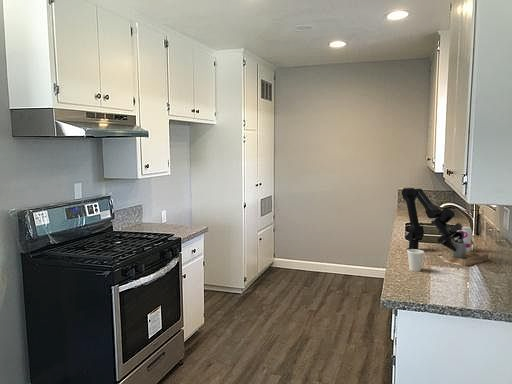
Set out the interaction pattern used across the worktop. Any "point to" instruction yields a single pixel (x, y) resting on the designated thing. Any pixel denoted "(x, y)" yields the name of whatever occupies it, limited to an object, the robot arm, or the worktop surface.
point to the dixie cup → (415, 259)
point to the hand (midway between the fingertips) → (460, 249)
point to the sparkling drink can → (467, 237)
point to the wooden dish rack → (467, 259)
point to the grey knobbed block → (459, 249)
